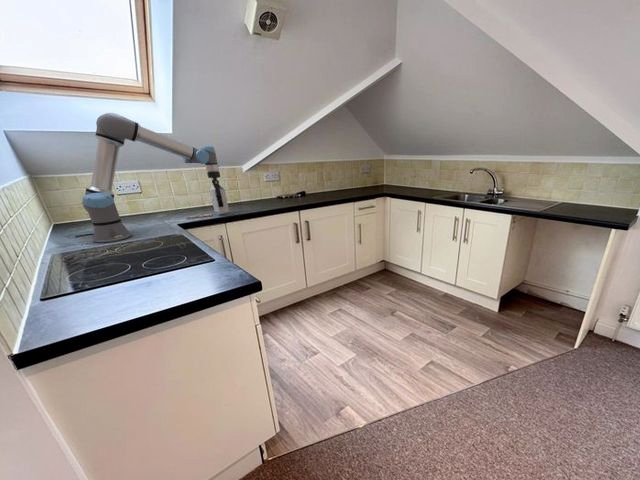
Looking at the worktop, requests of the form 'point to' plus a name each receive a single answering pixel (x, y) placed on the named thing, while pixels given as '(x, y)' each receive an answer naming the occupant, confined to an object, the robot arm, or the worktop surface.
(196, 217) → the wooden spoon
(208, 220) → the worktop surface
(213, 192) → the milk carton
